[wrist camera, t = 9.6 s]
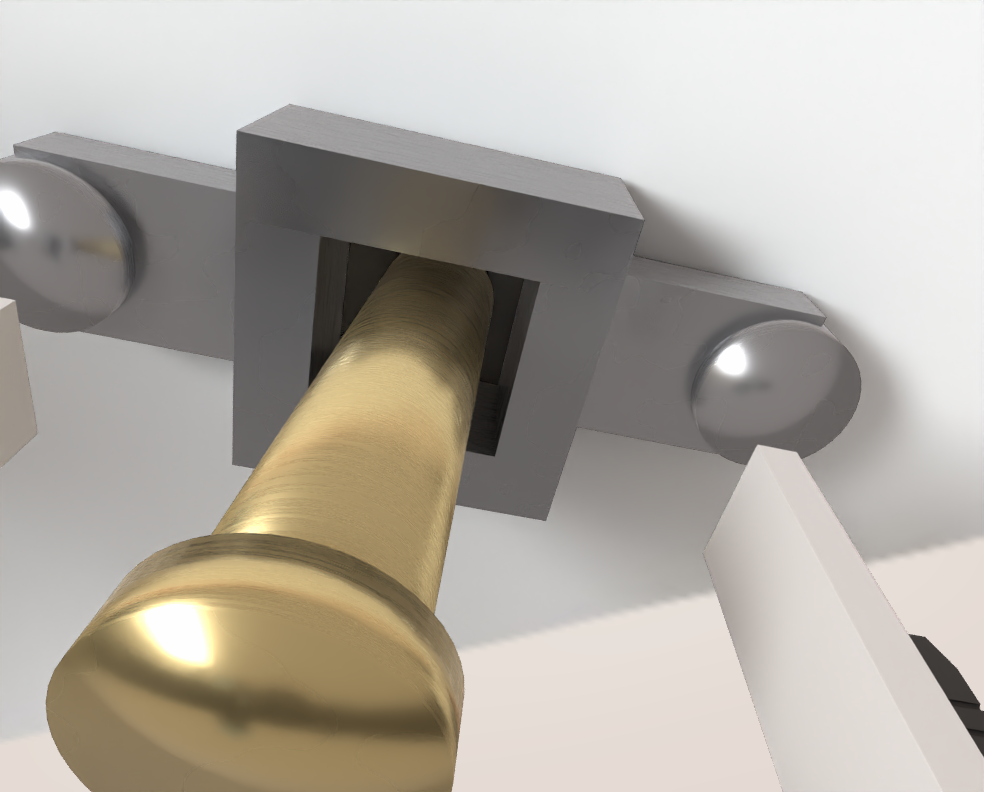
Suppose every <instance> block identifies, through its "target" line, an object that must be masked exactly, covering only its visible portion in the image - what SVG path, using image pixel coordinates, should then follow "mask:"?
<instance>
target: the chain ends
mask: <svg viewBox="0 0 984 792" xmlns="http://www.w3.org/2000/svg"><path fill="white" fill-rule="evenodd" d="M13 147H14V155H11V156H8V157H5V158H2V159H0V297H1V298H7V299H12V300H15V301H16V307H17V313H18V319H19V322H20V323H22V324H24V325H27V326H30V327H33V328H36V329H40V330H44V331H51V332H76V331H81V332H86V333H91V334H96V335H102V336H107V337H112V338H117V339H122V340H128V341H133V342H138V343H143V344H148V345H154V346H159V347H164V348H169V349H174V350H180V351H185V352H190V353H195V354H200V355H206V356H211V357H216V358H221V359H226V360H232V361H234V382H233V462H232V465H238V466H243V467H249V468H256V467H257V465H258V464H259V462H260V460H261V459H262V457H263V456H264V454H265V453H266V451H267V450H268V448H269V447H270V445H271V444H272V442H273V441H274V439H275V438H276V436H277V435H278V433H279V432H280V430H281V429H282V427H283V426H284V424H285V423H286V421H287V420H288V418H289V417H290V415H291V414H292V412H293V411H294V409H295V408H296V406H297V405H298V403H299V402H300V400H301V399H302V397H303V396H304V394H305V393H306V391H307V390H308V388H309V387H310V385H311V384H312V382H313V381H314V379H315V378H316V376H317V375H318V373H319V371H320V370H321V368H322V367H323V365H324V364H325V362H326V361H327V359H328V358H329V356H330V355H331V353H332V352H333V350H334V349H335V347H336V346H337V344H338V343H339V341H340V333H341V323H342V314H343V304H344V294H345V284H346V275H347V265H348V255H349V245H350V242H352V243H357V244H361V245H366V246H371V247H376V248H381V249H385V250H390V251H395V252H400V253H405V254H409V255H414V256H419V257H424V258H428V259H433V260H438V261H443V262H448V263H452V264H457V265H462V266H467V267H471V268H476V269H481V270H486V271H491V272H495V273H500V274H505V275H510V276H515V277H519V278H524V281H523V285H522V290H521V294H520V298H519V302H518V306H517V310H516V314H515V318H514V322H513V326H512V330H511V334H510V338H509V342H508V346H507V350H506V354H505V358H504V362H503V367H502V371H501V375H500V379H499V383H498V385H496V384H491V383H486V382H481V381H479V384H478V389H477V394H476V399H475V404H474V410H473V415H472V420H471V425H470V431H469V436H468V441H467V446H466V451H465V457H464V462H463V467H462V472H461V477H460V483H459V488H458V493H457V498H456V503H455V505H460V506H465V507H471V508H477V509H482V510H488V511H493V512H499V513H504V514H510V515H515V516H521V517H527V518H532V519H538V520H543V521H546V519H547V516H548V513H549V510H550V507H551V504H552V501H553V498H554V495H555V491H556V488H557V485H558V482H559V479H560V476H561V473H562V470H563V467H564V464H565V461H566V458H567V455H568V452H569V449H570V446H571V443H572V440H573V437H574V434H575V431H576V428H577V427H580V428H585V429H590V430H596V431H601V432H606V433H611V434H616V435H622V436H627V437H632V438H637V439H642V440H648V441H653V442H658V443H663V444H668V445H674V446H679V447H684V448H689V449H694V450H700V451H705V452H710V453H715V454H720V455H721V456H723V457H725V458H726V459H728V460H731V461H734V462H736V463H740V464H744V465H747V464H748V462H749V460H750V458H751V456H752V454H753V452H754V450H755V448H756V446H757V445H762V446H768V447H773V448H778V449H783V450H788V451H793V452H797V453H798V455H799V457H800V458H801V459H802V458H805V457H807V456H809V455H811V454H813V453H815V452H817V451H818V450H820V449H821V448H823V447H825V446H826V445H827V444H828V443H830V442H831V441H832V440H833V439H834V438H835V437H837V436H838V435H839V434H840V433H841V431H842V430H843V429H844V428H845V427H846V425H847V424H848V422H849V421H850V419H851V418H852V416H853V414H854V412H855V410H856V408H857V405H858V402H859V398H860V393H861V377H860V372H859V369H858V366H857V363H856V362H855V360H854V358H853V356H852V355H851V354H850V352H849V351H848V350H847V349H846V348H845V347H844V346H843V345H842V343H841V342H840V341H839V340H838V339H837V338H836V337H835V336H834V335H833V334H832V333H831V332H830V331H829V329H828V328H827V327H826V326H825V325H824V324H823V323H824V321H825V319H826V316H825V315H824V314H823V313H822V312H821V311H820V310H819V309H818V308H817V307H816V306H815V305H814V304H813V303H812V302H811V301H810V300H809V299H808V298H807V297H806V295H805V294H804V293H803V292H799V291H794V290H790V289H785V288H780V287H776V286H771V285H767V284H762V283H757V282H753V281H748V280H743V279H739V278H734V277H729V276H725V275H720V274H715V273H711V272H706V271H701V270H697V269H692V268H687V267H683V266H678V265H673V264H669V263H664V262H659V261H655V260H650V259H645V258H641V257H636V256H633V254H634V251H635V248H636V245H637V242H638V239H639V236H640V233H641V230H642V227H643V224H644V221H645V220H644V218H643V216H642V214H641V213H640V211H639V209H638V207H637V206H636V204H635V202H634V200H633V199H632V197H631V195H630V193H629V192H628V190H627V188H626V186H625V185H624V183H623V181H622V179H621V178H618V177H613V176H609V175H604V174H600V173H595V172H591V171H586V170H582V169H577V168H573V167H569V166H564V165H560V164H555V163H551V162H546V161H542V160H537V159H533V158H528V157H524V156H519V155H515V154H510V153H506V152H502V151H497V150H493V149H488V148H484V147H479V146H475V145H470V144H466V143H461V142H457V141H452V140H448V139H443V138H439V137H435V136H430V135H426V134H421V133H417V132H412V131H408V130H403V129H399V128H394V127H390V126H385V125H381V124H377V123H372V122H368V121H363V120H359V119H354V118H350V117H345V116H341V115H336V114H332V113H327V112H323V111H318V110H314V109H310V108H305V107H301V106H296V105H292V104H289V105H287V106H285V107H283V108H281V109H279V110H277V111H275V112H273V113H271V114H269V115H267V116H265V117H263V118H261V119H259V120H257V121H255V122H253V123H251V124H249V125H247V126H245V127H243V128H241V129H239V130H237V143H236V170H231V169H226V168H222V167H217V166H212V165H208V164H203V163H198V162H194V161H189V160H184V159H180V158H175V157H170V156H166V155H161V154H156V153H152V152H147V151H143V150H138V149H133V148H129V147H124V146H119V145H115V144H110V143H105V142H101V141H96V140H91V139H87V138H82V137H77V136H73V135H68V134H63V133H59V132H53V133H50V134H47V135H44V136H40V137H37V138H34V139H31V140H27V141H24V142H21V143H17V144H14V145H13Z"/></svg>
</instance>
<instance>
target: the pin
mask: <svg viewBox="0 0 984 792" xmlns="http://www.w3.org/2000/svg"><path fill="white" fill-rule="evenodd" d="M493 304H494V294H493V288H492V284H491V281H490V279H489V276H488V274H487V272H486V271H485V270H481V269H476V268H471V267H467V266H462V265H457V264H452V263H448V262H443V261H438V260H433V259H428V258H424V257H419V256H414V255H409V254H405V253H401V254H400V255H398V256H397V257H396V258H395V259H394V260H393V262H392V263H391V265H390V266H389V267H388V269H387V270H386V272H385V273H384V275H383V276H382V278H381V279H380V281H379V283H378V284H377V286H376V287H375V289H374V290H373V292H372V293H371V295H370V296H369V298H368V299H367V301H366V302H365V304H364V305H363V307H362V308H361V310H360V311H359V313H358V314H357V316H356V317H355V319H354V320H353V322H352V323H351V325H350V326H349V328H348V329H347V331H346V332H345V334H344V335H343V337H342V338H341V340H340V341H339V343H338V344H337V346H336V347H335V349H334V350H333V352H332V353H331V355H330V356H329V358H328V359H327V361H326V362H325V364H324V365H323V367H322V368H321V370H320V371H319V373H318V375H317V376H316V378H315V379H314V381H313V382H312V384H311V385H310V387H309V388H308V390H307V391H306V393H305V394H304V396H303V397H302V399H301V400H300V402H299V403H298V405H297V406H296V408H295V409H294V411H293V412H292V414H291V415H290V417H289V418H288V420H287V421H286V423H285V424H284V426H283V427H282V429H281V430H280V432H279V433H278V435H277V436H276V438H275V439H274V441H273V442H272V444H271V445H270V447H269V448H268V450H267V451H266V453H265V454H264V456H263V457H262V459H261V460H260V462H259V464H258V465H257V467H256V468H255V470H254V471H253V473H252V474H251V476H250V477H249V479H248V480H247V482H246V483H245V485H244V486H243V488H242V489H241V491H240V492H239V494H238V495H237V497H236V498H235V500H234V501H233V503H232V504H231V506H230V507H229V509H228V510H227V512H226V513H225V515H224V516H223V518H222V519H221V521H220V522H219V524H218V525H217V527H216V528H215V530H214V531H213V533H212V534H211V535H209V536H203V537H197V538H193V539H190V540H186V541H183V542H180V543H176V544H173V545H171V546H169V547H167V548H165V549H162V550H160V551H158V552H156V553H154V554H152V555H151V556H150V557H148V558H147V559H145V560H144V561H142V562H141V563H139V564H138V565H137V566H136V567H135V568H134V569H133V570H132V571H131V572H129V573H128V574H127V575H126V576H125V578H124V579H123V580H122V581H121V583H120V584H119V585H118V587H117V588H116V589H115V591H114V592H113V593H112V594H111V596H110V597H109V598H108V600H107V601H106V602H105V604H104V605H103V606H102V607H101V609H100V610H99V611H98V613H97V614H96V615H95V617H94V618H93V619H92V620H91V622H90V623H89V624H88V626H87V627H86V628H85V629H84V631H83V632H82V633H81V635H80V636H79V637H78V639H77V640H76V641H75V642H74V644H73V645H72V646H71V648H70V649H69V650H68V652H67V653H66V654H65V655H64V657H63V658H62V660H61V661H60V663H59V664H58V666H57V667H56V669H55V670H54V672H53V675H52V677H51V680H50V683H49V685H48V691H47V697H46V712H47V721H48V724H49V728H50V732H51V735H52V738H53V740H54V742H55V744H56V746H57V748H58V750H59V752H60V754H61V756H62V757H63V759H64V760H65V761H66V763H67V765H68V766H69V768H70V769H71V770H72V771H73V773H74V774H75V775H76V776H77V777H78V778H79V780H80V781H81V782H82V783H83V784H84V785H85V786H86V787H87V788H88V789H89V790H90V791H91V792H451V791H452V786H453V780H454V772H455V763H456V756H457V748H458V739H459V732H460V731H459V730H460V724H461V716H462V707H463V699H464V675H463V671H462V666H461V661H460V658H459V656H458V653H457V651H456V648H455V646H454V643H453V642H452V640H451V638H450V636H449V635H448V633H447V631H446V630H445V628H444V626H443V625H442V624H441V623H440V621H439V620H438V619H437V618H436V616H435V615H434V613H435V608H436V602H437V597H438V592H439V587H440V582H441V576H442V571H443V566H444V561H445V556H446V550H447V545H448V540H449V535H450V529H451V524H452V519H453V514H454V509H455V503H456V498H457V493H458V488H459V483H460V477H461V472H462V467H463V462H464V457H465V451H466V446H467V441H468V436H469V431H470V425H471V420H472V415H473V410H474V404H475V399H476V394H477V389H478V384H479V378H480V373H481V368H482V363H483V358H484V352H485V347H486V342H487V337H488V332H489V326H490V321H491V316H492V311H493Z"/></svg>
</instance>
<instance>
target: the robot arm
mask: <svg viewBox="0 0 984 792" xmlns="http://www.w3.org/2000/svg"><path fill="white" fill-rule="evenodd" d="M37 434H38V432H37V426H36V420H35V414H34V408H33V402H32V396H31V390H30V384H29V378H28V372H27V366H26V360H25V354H24V349H23V343H22V337H21V331H20V325H19V319H18V313H17V307H16V301H15V300H12V299H7V298H1V297H0V468H1V467H2V466H3V465H4V464H5V463H6V462H8V461H9V460H10V459H11V458H12V457H13V456H14V455H15V454H16V453H17V452H18V451H19V450H20V449H22V448H23V447H24V446H25V445H26V444H27V443H28V442H29V441H30V440H31V439H32V438H33V437H35V436H36V435H37ZM703 555H704V558H705V561H706V564H707V567H708V570H709V573H710V576H711V579H712V582H713V585H714V588H715V591H716V594H717V597H718V600H719V603H720V605H721V608H722V611H723V615H724V618H725V621H726V624H727V627H728V629H729V632H730V635H731V638H732V641H733V644H734V647H735V650H736V653H737V656H738V659H739V662H740V665H741V668H742V671H743V674H744V677H745V680H746V683H747V686H748V689H749V692H750V695H751V698H752V701H753V704H754V707H755V710H756V713H757V716H758V719H759V722H760V725H761V728H762V731H763V734H764V737H765V740H766V743H767V746H768V749H769V752H770V755H771V758H772V761H773V764H774V767H775V770H776V773H777V776H778V779H779V781H780V784H781V788H782V791H783V792H984V711H981V710H980V703H979V702H978V700H977V699H976V697H975V695H974V694H973V692H972V691H971V689H970V688H969V686H968V684H967V683H966V682H965V680H964V678H963V677H962V675H961V674H960V673H959V671H958V669H957V668H956V667H955V666H954V665H953V664H952V663H951V662H950V661H949V660H948V659H947V658H946V657H945V656H944V655H943V654H942V653H941V652H940V651H939V650H938V649H937V648H936V647H935V646H934V645H933V644H932V643H931V642H929V640H927V638H926V637H922V636H916V635H910V634H908V633H907V631H906V630H905V628H904V627H903V625H902V623H901V622H900V620H899V618H898V617H897V615H896V613H895V612H894V610H893V608H892V607H891V605H890V604H889V602H888V600H887V599H886V597H885V595H884V594H883V592H882V591H881V589H880V587H879V586H878V584H877V582H876V581H875V579H874V577H873V576H872V574H871V573H870V571H869V569H868V568H867V566H866V564H865V563H864V561H863V559H862V558H861V556H860V555H859V553H858V551H857V550H856V548H855V546H854V545H853V543H852V541H851V540H850V538H849V537H848V535H847V533H846V532H845V530H844V528H843V527H842V525H841V523H840V522H839V520H838V519H837V517H836V515H835V514H834V512H833V510H832V509H831V507H830V506H829V504H828V502H827V501H826V499H825V497H824V496H823V494H822V492H821V491H820V489H819V488H818V486H817V484H816V483H815V481H814V479H813V478H812V476H811V474H810V473H809V471H808V470H807V468H806V466H805V465H804V463H803V461H802V460H801V458H800V457H799V455H798V453H797V452H793V451H788V450H783V449H778V448H773V447H768V446H762V445H757V446H756V448H755V450H754V452H753V454H752V456H751V458H750V460H749V462H748V464H747V466H746V468H745V470H744V472H743V474H742V476H741V478H740V480H739V482H738V484H737V486H736V488H735V490H734V492H733V494H732V496H731V498H730V500H729V502H728V504H727V506H726V508H725V510H724V512H723V514H722V516H721V518H720V520H719V522H718V524H717V526H716V528H715V530H714V532H713V534H712V536H711V538H710V540H709V542H708V544H707V546H706V548H705V550H704V552H703Z"/></svg>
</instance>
